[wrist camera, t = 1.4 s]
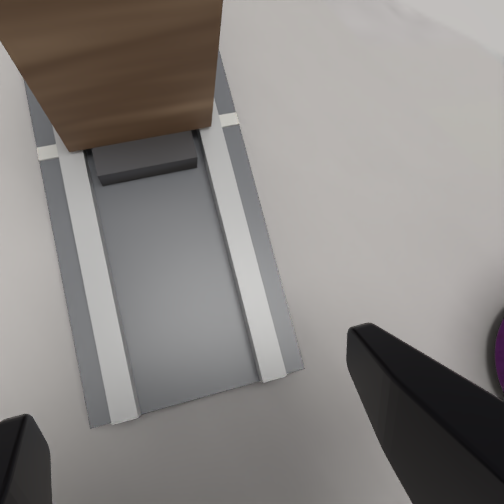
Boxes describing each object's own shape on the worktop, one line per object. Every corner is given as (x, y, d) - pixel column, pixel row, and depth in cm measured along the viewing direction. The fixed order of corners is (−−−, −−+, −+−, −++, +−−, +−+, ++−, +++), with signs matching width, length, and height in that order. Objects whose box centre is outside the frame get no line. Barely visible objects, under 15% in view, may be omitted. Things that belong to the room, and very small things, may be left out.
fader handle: (216, 163, 22) (263, -168, 8) (81, 190, 21) (-143, -137, 7) (196, 84, 22) (205, -351, 8) (64, 106, 21) (-173, -349, 7)
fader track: (296, 367, 22) (310, 369, 19) (97, 422, 20) (85, 433, 18) (196, -10, 25) (197, -49, 23) (18, 13, 23) (-2, -26, 21)
